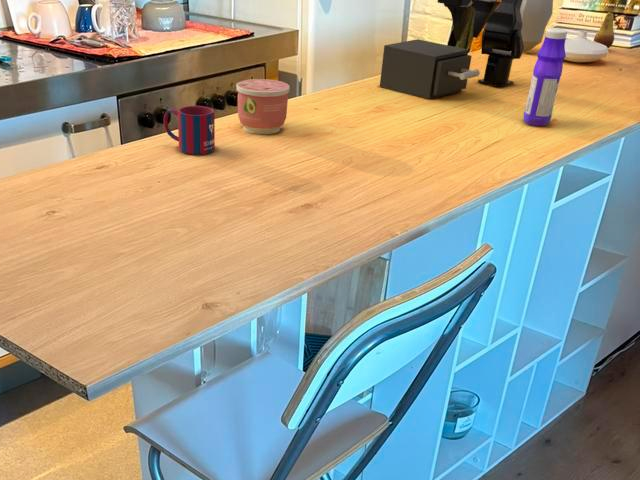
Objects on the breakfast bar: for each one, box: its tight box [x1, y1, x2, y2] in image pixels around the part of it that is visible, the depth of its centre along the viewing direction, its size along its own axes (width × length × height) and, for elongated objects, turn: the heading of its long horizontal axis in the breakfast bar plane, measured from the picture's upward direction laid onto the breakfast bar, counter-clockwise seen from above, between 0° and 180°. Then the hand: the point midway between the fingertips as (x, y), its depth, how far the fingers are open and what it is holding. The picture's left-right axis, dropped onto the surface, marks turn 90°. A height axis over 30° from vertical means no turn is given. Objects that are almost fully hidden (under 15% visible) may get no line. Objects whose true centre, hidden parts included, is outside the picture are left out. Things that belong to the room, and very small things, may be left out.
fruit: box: [593, 3, 617, 49], centre depth 234 cm, size 6×6×12 cm
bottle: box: [523, 27, 568, 127], centre depth 168 cm, size 7×6×17 cm
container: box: [235, 78, 291, 135], centre depth 162 cm, size 10×10×8 cm
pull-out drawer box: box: [433, 54, 480, 96], centre depth 189 cm, size 18×12×7 cm, turn 44°
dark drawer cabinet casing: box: [379, 38, 469, 100], centre depth 191 cm, size 15×13×9 cm
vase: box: [563, 29, 610, 63], centre depth 223 cm, size 16×16×7 cm
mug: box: [163, 105, 216, 156], centre depth 151 cm, size 7×10×7 cm
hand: (466, 39), depth 181 cm, fingers open, 6 cm apart
